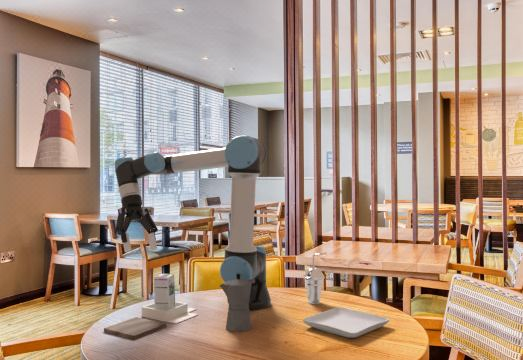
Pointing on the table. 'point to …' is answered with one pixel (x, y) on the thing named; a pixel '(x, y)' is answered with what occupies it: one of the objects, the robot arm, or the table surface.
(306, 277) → the cup with straw
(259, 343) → the table surface
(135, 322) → the walnut board
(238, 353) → the table surface
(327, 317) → the salad plate
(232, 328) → the coffeepot
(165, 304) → the syrup box
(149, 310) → the open carton
